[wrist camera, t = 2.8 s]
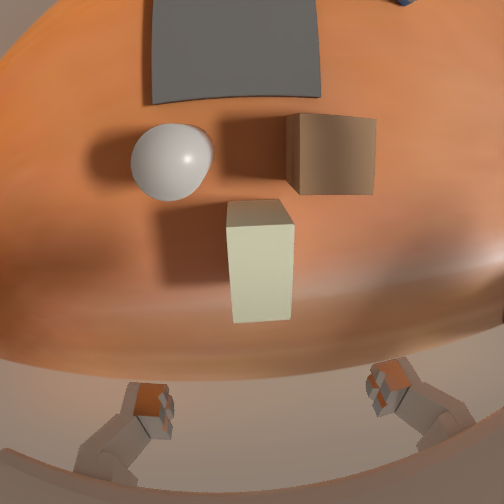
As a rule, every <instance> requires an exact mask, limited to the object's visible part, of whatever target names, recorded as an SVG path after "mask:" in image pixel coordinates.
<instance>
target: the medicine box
mask: <svg viewBox="0 0 504 504" xmlns="http://www.w3.org/2000/svg"><path fill="white" fill-rule="evenodd" d="M397 1H398V2H399V3H400V4H401V5H402V6H407V5H409V4H411V3H413V2H415V1H417V0H397Z"/></svg>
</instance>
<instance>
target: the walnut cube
mask: <svg viewBox="0 0 504 504" xmlns="http://www.w3.org/2000/svg"><path fill="white" fill-rule="evenodd" d="M285 149H286V181H287V182H288V183H289V184H290V185H291V186H292V187H293V188H294V190H295V191H296V192H297V193H298V194H299V195H373V189H374V175H375V157H376V119H370V118H361V117H352V116H341V115H327V114H309V113H298V114H292V115H287V116H285Z"/></svg>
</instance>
